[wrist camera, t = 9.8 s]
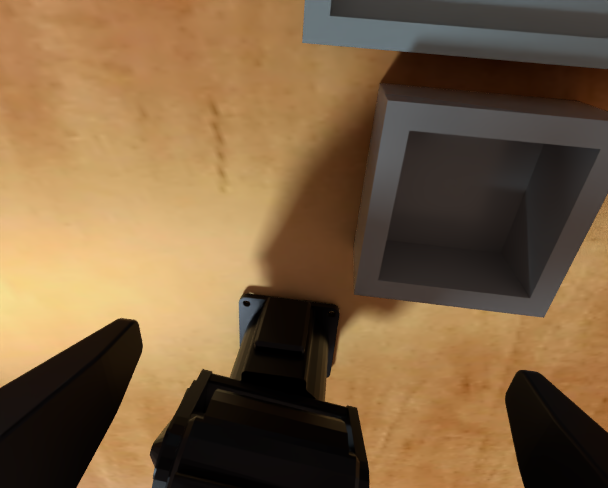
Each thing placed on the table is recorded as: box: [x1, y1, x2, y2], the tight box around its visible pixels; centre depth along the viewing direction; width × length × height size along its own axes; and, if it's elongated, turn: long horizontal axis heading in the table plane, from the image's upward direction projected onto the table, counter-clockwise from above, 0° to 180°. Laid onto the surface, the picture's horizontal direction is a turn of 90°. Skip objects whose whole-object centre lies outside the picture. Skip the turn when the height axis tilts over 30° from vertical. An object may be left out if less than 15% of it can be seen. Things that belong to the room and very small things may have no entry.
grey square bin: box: [353, 83, 608, 317], centre depth 18 cm, size 9×9×4 cm
